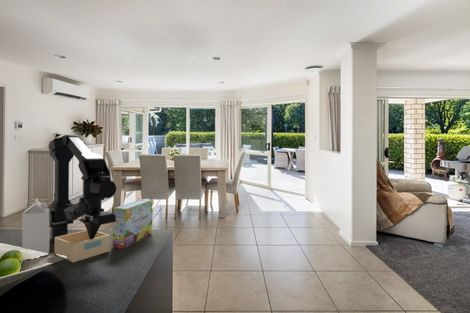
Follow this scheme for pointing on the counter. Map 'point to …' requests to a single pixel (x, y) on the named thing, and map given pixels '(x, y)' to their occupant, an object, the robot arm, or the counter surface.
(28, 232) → the milk carton
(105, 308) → the counter surface
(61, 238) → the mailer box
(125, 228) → the snack box
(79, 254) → the front flap
